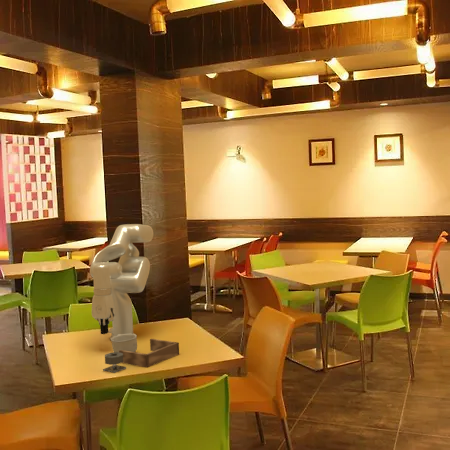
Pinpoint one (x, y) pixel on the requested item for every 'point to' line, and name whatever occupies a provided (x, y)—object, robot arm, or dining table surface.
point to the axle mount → (114, 368)
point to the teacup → (124, 342)
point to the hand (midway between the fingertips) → (104, 333)
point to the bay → (152, 353)
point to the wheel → (113, 358)
